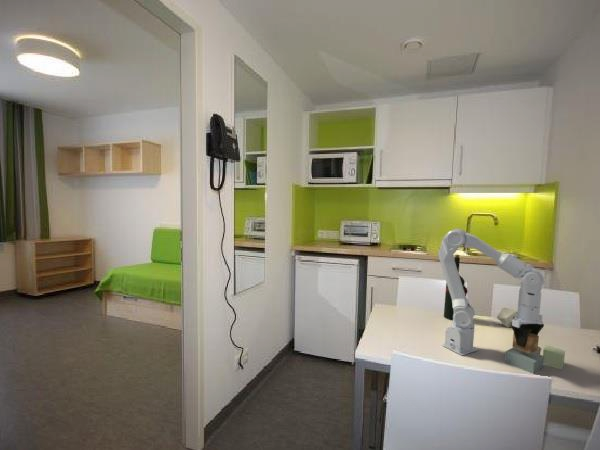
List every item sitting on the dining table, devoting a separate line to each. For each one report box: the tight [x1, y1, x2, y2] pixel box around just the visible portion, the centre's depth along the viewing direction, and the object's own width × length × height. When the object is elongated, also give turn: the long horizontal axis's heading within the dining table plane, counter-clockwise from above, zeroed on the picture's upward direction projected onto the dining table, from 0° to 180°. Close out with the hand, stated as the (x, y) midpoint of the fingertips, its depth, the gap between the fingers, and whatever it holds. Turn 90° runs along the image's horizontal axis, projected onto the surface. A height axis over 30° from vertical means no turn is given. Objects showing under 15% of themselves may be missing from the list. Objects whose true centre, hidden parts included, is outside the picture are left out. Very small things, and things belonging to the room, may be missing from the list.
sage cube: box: [542, 344, 566, 370], centre depth 99 cm, size 5×5×5 cm
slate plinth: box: [504, 347, 544, 374], centre depth 98 cm, size 8×8×4 cm
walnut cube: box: [511, 333, 540, 354], centre depth 98 cm, size 5×5×5 cm
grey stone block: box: [496, 306, 517, 328], centre depth 130 cm, size 8×9×10 cm
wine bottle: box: [443, 254, 468, 321], centre depth 136 cm, size 8×10×30 cm
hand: (525, 344), depth 98 cm, fingers closed on walnut cube, 5 cm apart
